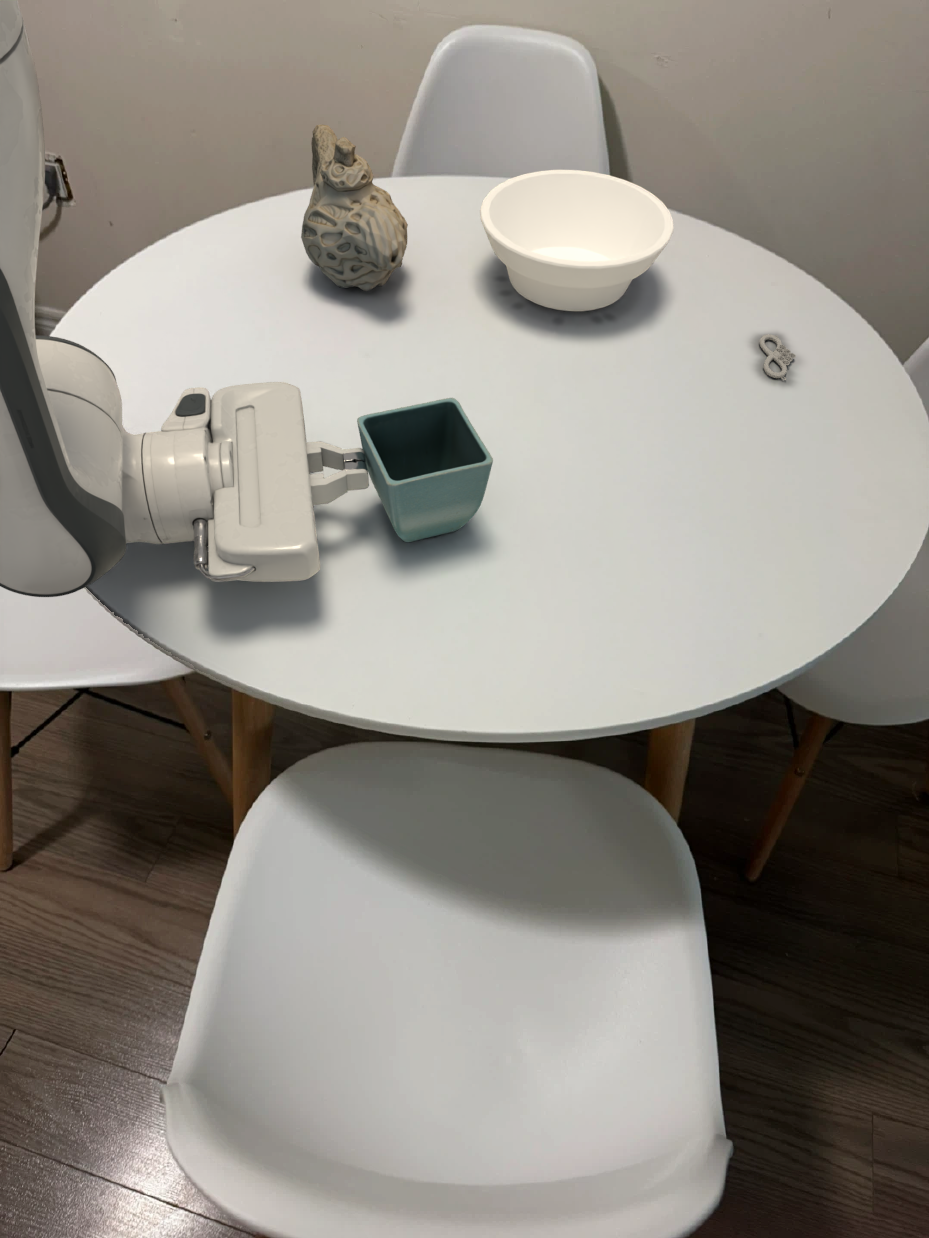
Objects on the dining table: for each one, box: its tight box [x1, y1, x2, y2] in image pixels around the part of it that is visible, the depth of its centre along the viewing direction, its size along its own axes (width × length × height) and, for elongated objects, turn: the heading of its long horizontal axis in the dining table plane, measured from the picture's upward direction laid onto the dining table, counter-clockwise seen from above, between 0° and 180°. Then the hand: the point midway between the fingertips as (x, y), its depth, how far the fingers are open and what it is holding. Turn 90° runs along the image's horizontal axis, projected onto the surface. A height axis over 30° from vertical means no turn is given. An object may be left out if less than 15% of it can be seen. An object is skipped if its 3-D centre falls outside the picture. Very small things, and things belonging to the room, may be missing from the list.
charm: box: [758, 333, 797, 381], centre depth 93 cm, size 8×1×4 cm
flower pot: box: [356, 397, 494, 543], centre depth 74 cm, size 9×9×9 cm
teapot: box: [300, 124, 409, 292], centre depth 95 cm, size 21×12×15 cm, turn 26°
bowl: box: [479, 169, 674, 312], centre depth 98 cm, size 21×21×8 cm
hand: (366, 467), depth 72 cm, fingers closed
